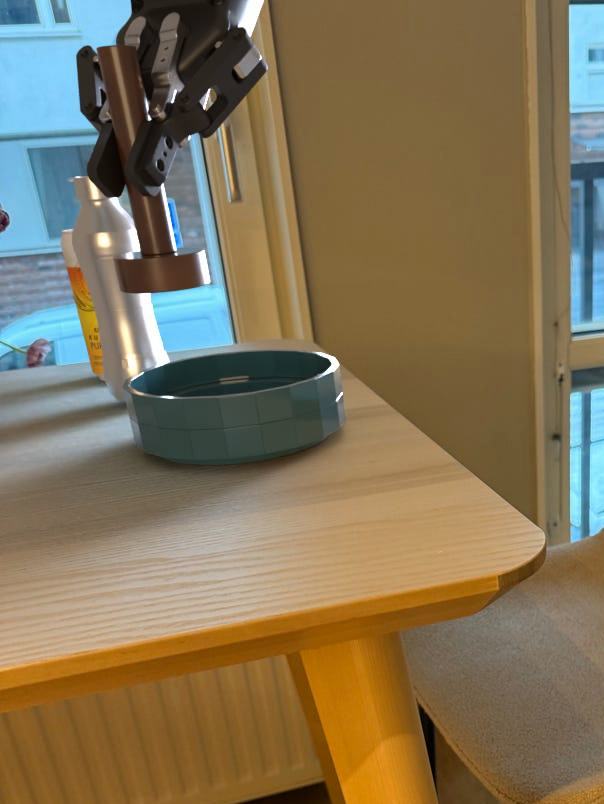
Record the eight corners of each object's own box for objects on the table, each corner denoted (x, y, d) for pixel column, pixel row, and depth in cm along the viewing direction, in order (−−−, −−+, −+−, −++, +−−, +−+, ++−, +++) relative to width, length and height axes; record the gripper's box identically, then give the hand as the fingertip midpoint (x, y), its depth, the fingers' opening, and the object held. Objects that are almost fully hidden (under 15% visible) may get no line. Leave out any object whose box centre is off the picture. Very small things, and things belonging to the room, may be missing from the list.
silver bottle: (176, 389, 95) (131, 172, 86) (179, 404, 90) (131, 174, 80) (111, 397, 94) (57, 177, 84) (109, 413, 88) (52, 179, 78)
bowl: (104, 473, 72) (86, 402, 69) (179, 413, 87) (167, 353, 84) (324, 466, 70) (314, 393, 68) (361, 407, 85) (354, 345, 83)
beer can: (96, 385, 99) (58, 233, 92) (92, 374, 104) (56, 229, 97) (154, 377, 101) (121, 227, 94) (148, 367, 106) (117, 224, 99)
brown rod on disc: (105, 295, 57) (46, 46, 51) (140, 282, 62) (89, 53, 56) (193, 291, 57) (145, 39, 50) (221, 277, 62) (180, 46, 55)
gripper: (85, -85, 58) (-14, 144, 54) (269, -120, 53) (174, 131, 49) (161, 22, 65) (77, 233, 61) (331, 0, 59) (251, 229, 56)
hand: (121, 186), depth 55 cm, fingers closed on brown rod on disc
